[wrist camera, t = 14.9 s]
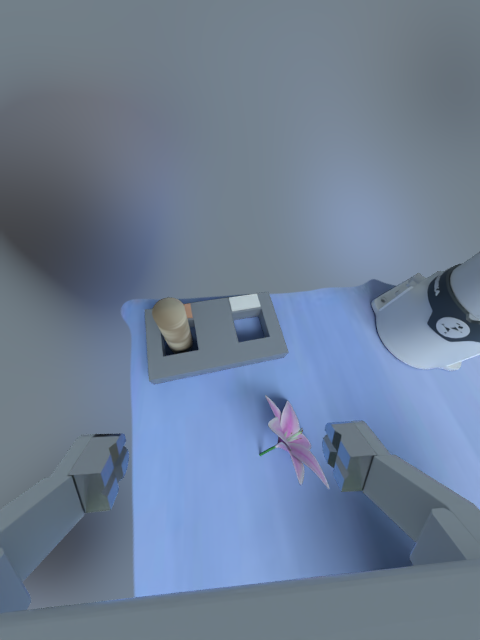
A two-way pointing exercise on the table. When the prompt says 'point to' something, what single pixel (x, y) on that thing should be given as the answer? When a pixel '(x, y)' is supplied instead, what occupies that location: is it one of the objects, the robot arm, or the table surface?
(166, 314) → the peg
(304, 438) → the lily
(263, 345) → the socket deck
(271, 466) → the table surface
